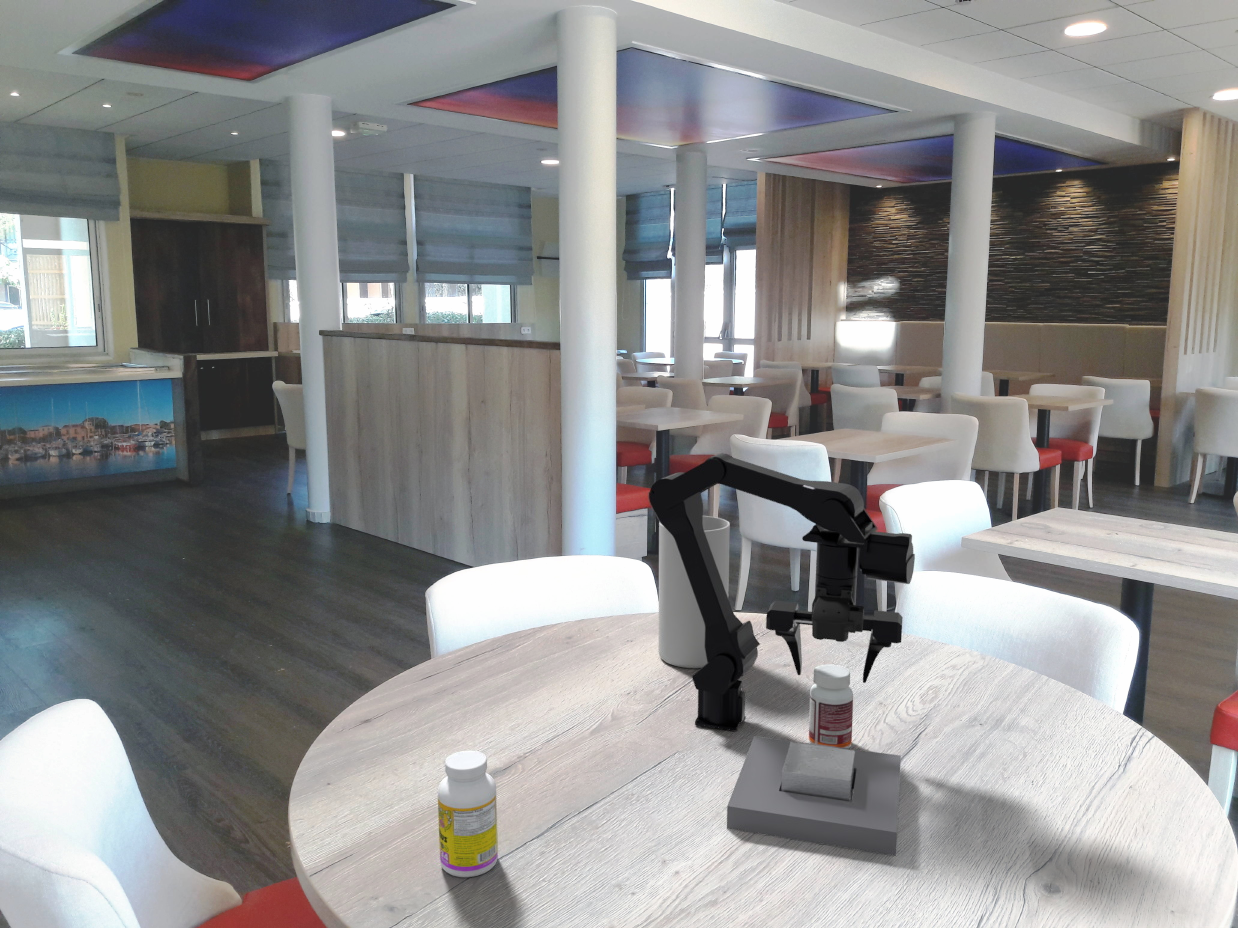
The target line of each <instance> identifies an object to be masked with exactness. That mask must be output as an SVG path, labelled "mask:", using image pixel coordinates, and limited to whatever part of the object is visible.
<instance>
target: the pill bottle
mask: <svg viewBox="0 0 1238 928" xmlns="http://www.w3.org/2000/svg"><path fill="white" fill-rule="evenodd" d="M812 679H813V683H814V684H813V685H811V687H810V689H809V690H810V691H809V714H808V715H809V719H808V720H809V721H808V742H809V743H810V744H818V745H825V746H833V747H840V748H848V749H851V746H852V741H853V740H852V739H853V738H852V737H853V716H854V715H853V712H854V711H853V709H854V705H853V704H854V692H853V690H852V688H851V687H850V685H851V672H850V670H849V669H848V668H847V667H845V666H843V665H837V664H831V663H830V664H829V663H828V664H821V665H816V667H815V668H814V669H813V678H812Z"/></svg>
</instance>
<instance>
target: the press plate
mask: <svg viewBox="0 0 1238 928" xmlns="http://www.w3.org/2000/svg"><path fill="white" fill-rule="evenodd" d="M791 742H794V743H801V744H809V745H816V746H824V747H831V748H839V749H846V750H854V751H855V761H854V775H853V782H852V789H851V790H853V793H852V798H851V799H852V800H851V801H850V802H849V801H842V800H835V799H829V798H822V797H815V796H809V795H802V794H795V793H788V792H782V791H781V787H782V769H783V766H784V763H785V759H786V756H787V753H788V749H789V746H790V743H791ZM749 746H750V747H749V749H748V752H747V754H746V757H745V759H744V761H743V764H742V766H741V769H740V772H739V774H738V777H737V780H736V783H735V785H734V788H733V790H732V793H731V795H730V798H729V800H728V803H727V805H726V806H727V807H726V830H727V829H728V830H733V831H734V830H735V831H739V832H746V833H750V834H751V833H752V834H758V835H764V836H770V837H776V838H780V839H781V838H783V839H789V840H794V841H800V842H801V841H802V842H806V843H807V842H808V843H812V844H818V845H819V844H820V845H826V846H831V847H836V848H837V847H838V848H843V849H850V850H857V851H862V852H870V853H874V854H879V855H886V856H893V857H897V845H898V844H897V843H898V841H897V840H898V825H899V823H898V822H899V805H900V804H899V801H900V781H901V780H900V779H901V759H902V758H901V757H902V756H901V755H899V754H892V753H885V752H877V751H869V750H861V749H856V748H855V749H854V748H840V747H833V746H825V745H818V744H811V743H810V742H809V743H808V742H802V741H795V740H794V741H793V740H788V739H779V738H773V737H772V738H771V737H766V736H763V737H762V736H757V735H754V736H753V738H752V741H751V744H750V745H749Z"/></svg>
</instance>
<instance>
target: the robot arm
mask: <svg viewBox="0 0 1238 928" xmlns="http://www.w3.org/2000/svg"><path fill="white" fill-rule="evenodd" d="M718 484H719V485H722V486H725V487H729V488H732V489H734V490H737V491H740V492H742V493H743V492H744V493H746V494H750V495H752V496H755V497H759V498H762V499H764V500H768V501H770V502H774V503H777V504H780V505H782V506H785V507H789V508H790V509H792V510H794V511H796V512H797V513H799V514H800V515H801V516H803V518H805V520H807V521H809V522H812V523H814V525H813V526H812V528H811V529H810V530H809V532H807V533H806V534H804V535H803V536H802V541H803V542H808V543H816V560H815V561H816V562H815V578H814V579H815V584H814V599H813V601H812V604H811V611H807V610H799V602H794V601H793V602H792V601H783V600H782V601H781V600H780V601H779V600H774V601H773V602H772V603H771V604H770V605H769V608H768V610H767V612H766V618H765V620H766V621H765V629H767V630H768V631H774V634H775V636H777V637H782V638H783V640H784V641H785V643H786V644H787V647H788V649H789V652H790V655H791V657H792V662H793V664H794V667H795V671H796V674H797V675H798V676H801V675H802V667H803V666H802V665H803V655H802V654H803V653H802V638H801V625H804V626H805V625H806V626H811V629H812V632H811V633H812V637H813V638H814V639H816V640H821V641H823V640H831V641H836V642H838V643H839V642H841V643H842V642H843V643H844V642H845V641H848V639H849V634H856V633H863V631H864V632H870V636H869V640H868V645H867V647H868V648H867V651H866V657H865V662H864V667H863V673H862V683H864V684H866V682H867V681H868V679H869V675H870V674H871V670H872V668H873V666H874V663H875V661H876V659H877V657H878V655H879V654H880V652H881V651H882V650H883V649H884V648H891V647H892V644H901V643H902V634H903V619H904V618H903V616H902V614H901V613H900V612H895V611H885V610H876V609H875V610H874V612H873V617H867V616H865V606H863V605H862V606H861V605H856V604H857V602H856V599H857V585H858V584H857V582H858V581H857V578H858V567H859V570H860V572H861V574H862V575H863V576H864V575H865V576H866V578H867V580H874V581H882V582H890V583H898V584H905V585H910V584H911V581H912V578H913V574H914V569H915V559H916V554H915V553H914V544H913V542H912V541H913V535H912V534H911V533H906V532H901V533H900V532H899V533H892V532H884V531H878V527H877V525H876V524H875V521H874V520H873V519H872V517H871V516H870V515H869V513H868V511H866V509H865V507H864V506H865V502H864V499H863V498H864V497H863V496H862V495H861V492H860V490H859V489H857V488H856V487H855V486H854V485H852V484H847V483H840V482H834V481H827V480H826V481H825V480H807V479H802V478H798V477H795V476H792V475H788V474H787V473H786V474H785V473H782V472H779V471H777V470H774V469H770V468H768V467H764V466H761V465H758V464H754V463H751V462H748V461H745V460H741V459H739V458H736V457H733V456H731V455H730V454H727V453H723V452H722V453H718V454H715V455H712V456H709V457H708V458H706V459H705V461H704V462H702V463H701V464H698V465H697V466H694V467H693V468H691V469H689V470H688V471H685V472H681V471H680V472H679V471H678V472H675V473H673V474H670V475H667V476H664V477H663V478H659V479H658V480H657V481H654V483H653V484H652V485H651V487H650V489H649V492H648V502H649V504H650V506H651V508H652V511H653V512H654V514H655V516H656V518H657V520H658V522H660V523H661V524H662V525H663V526H664V527H665V528H666V529H667V531H668V532H669V533H670V534H671V535H672V536H673V538H674V540H675V542H676V545H677V548H678V551H679V554H680V557H681V559H682V562H683V565H684V568H685V571H686V573H687V576H688V579H689V582H690V585H691V587H692V590H693V593H694V596H695V599H696V602H697V604H698V607H699V610H700V613H701V616H702V618H703V621H704V625H705V641H704V648H705V654H706V659H707V664H705V665H704V666H703V667H702V668H699V670H697V671H696V672H695V673H694V674H692V677H691V678H692V680H693V681H692V682H693V684H694V688H695V690H697V717H696V719H695V721H694V726H697V727H703V728H711V729H719V730H726V731H738V729H739V726H740V724H741V723H742V722H743V721H744V719H745V717H746V712H745V711H746V692H745V690H742V689H743V681H742V680H741V679H740V678H742V677H743V676H744V675H745V674H746V672H748V670H750V668H751V667H753V666H754V665H755V663H756V661H757V659H758V655H759V652H758V647H759V646H760V645H761V643H760V641H758V639H757V638H756V636H755V633H754V629H753V624H752V622H751V620H746V621H745V622H742V621H741V620H740V619H739V618H738V617H737V615H736V614H735V613H734V611H733V608H732V605H731V603H730V600H729V596H728V597H727V594H726V591H725V588H724V586H723V583H722V580H721V577H720V574H719V572H718V569H717V566H716V563H715V560H714V557H713V555H712V552H711V549H710V546H709V543H708V541H707V538H706V535H705V532H704V529H703V516H704V503H703V497H702V493H704V492H707V490H710V489H711V488H713V487H714V486H716V485H718Z"/></svg>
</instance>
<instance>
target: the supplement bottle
mask: <svg viewBox="0 0 1238 928" xmlns="http://www.w3.org/2000/svg"><path fill="white" fill-rule="evenodd" d="M487 758H488V757H487V756H486V754H485V753H483V752H481V751H477V750H462V751H461V750H460V751H457V752H454V753H452V754H450V755H449V756H447V758H445V761H444V763H445V765H444V766H445V767H444V772H445V774H446V776H445V777H444V778H443V779H442V780H441V782H440V783H439V784H438V788H437V813H438V816H437V817H438V841H439V843H438V844H439V860H440V866H441V867H442V869H443V870H444V871H445V872H446V873H447V874H449V875H451V876H453V877H458V878H471V877H472V878H473V877H478V876H480V875H484V874H485V873H487V872H488V871H490V870H491V869H493V868H494V867H495V865H496V864H497V861H498V857H499V845H498V844H499V841H498V840H499V839H498V836H499V835H498V812H497V811H498V810H497V809H498V808H497V806H498V804H497V802H498V801H497V783H496V781H495V779H494V778H493V777H492V775H490V774H489V773H487V770H488V759H487Z"/></svg>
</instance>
